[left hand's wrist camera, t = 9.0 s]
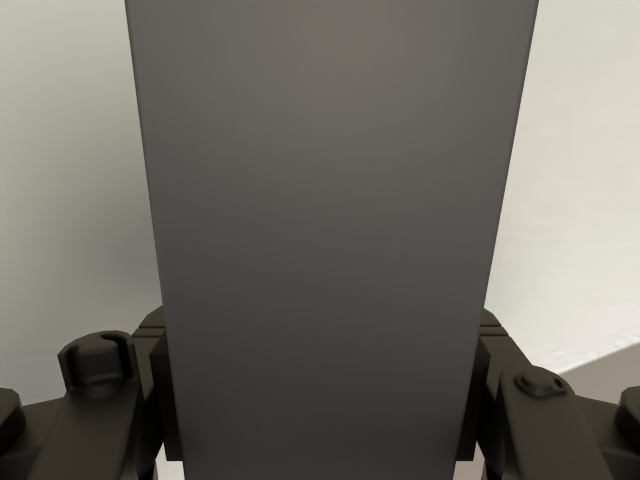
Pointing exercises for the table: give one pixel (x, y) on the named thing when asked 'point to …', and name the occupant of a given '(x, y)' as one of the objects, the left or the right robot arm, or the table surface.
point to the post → (325, 222)
